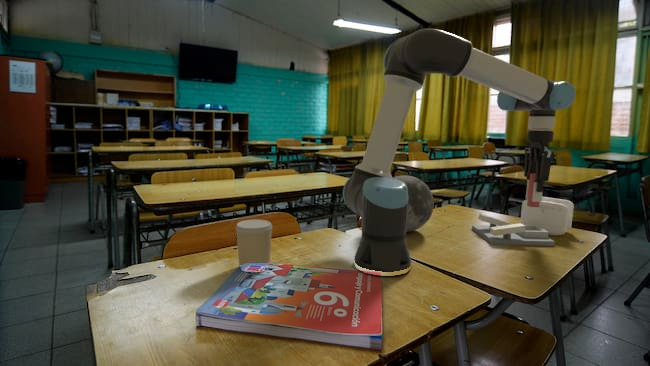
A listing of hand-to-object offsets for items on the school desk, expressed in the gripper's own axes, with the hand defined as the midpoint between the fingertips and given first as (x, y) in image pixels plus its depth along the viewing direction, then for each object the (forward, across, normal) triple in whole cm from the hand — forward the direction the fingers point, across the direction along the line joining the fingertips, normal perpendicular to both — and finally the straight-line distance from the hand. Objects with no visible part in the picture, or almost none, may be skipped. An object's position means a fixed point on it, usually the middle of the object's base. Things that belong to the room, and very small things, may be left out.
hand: (533, 199), depth 128 cm
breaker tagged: (+10, -5, +10) cm, 15 cm away
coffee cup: (+13, -32, +88) cm, 95 cm away
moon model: (+13, +6, +42) cm, 45 cm away
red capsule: (+2, 0, 0) cm, 2 cm away
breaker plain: (+9, +6, +10) cm, 15 cm away
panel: (+13, +1, +6) cm, 15 cm away
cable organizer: (+14, +10, -11) cm, 20 cm away
